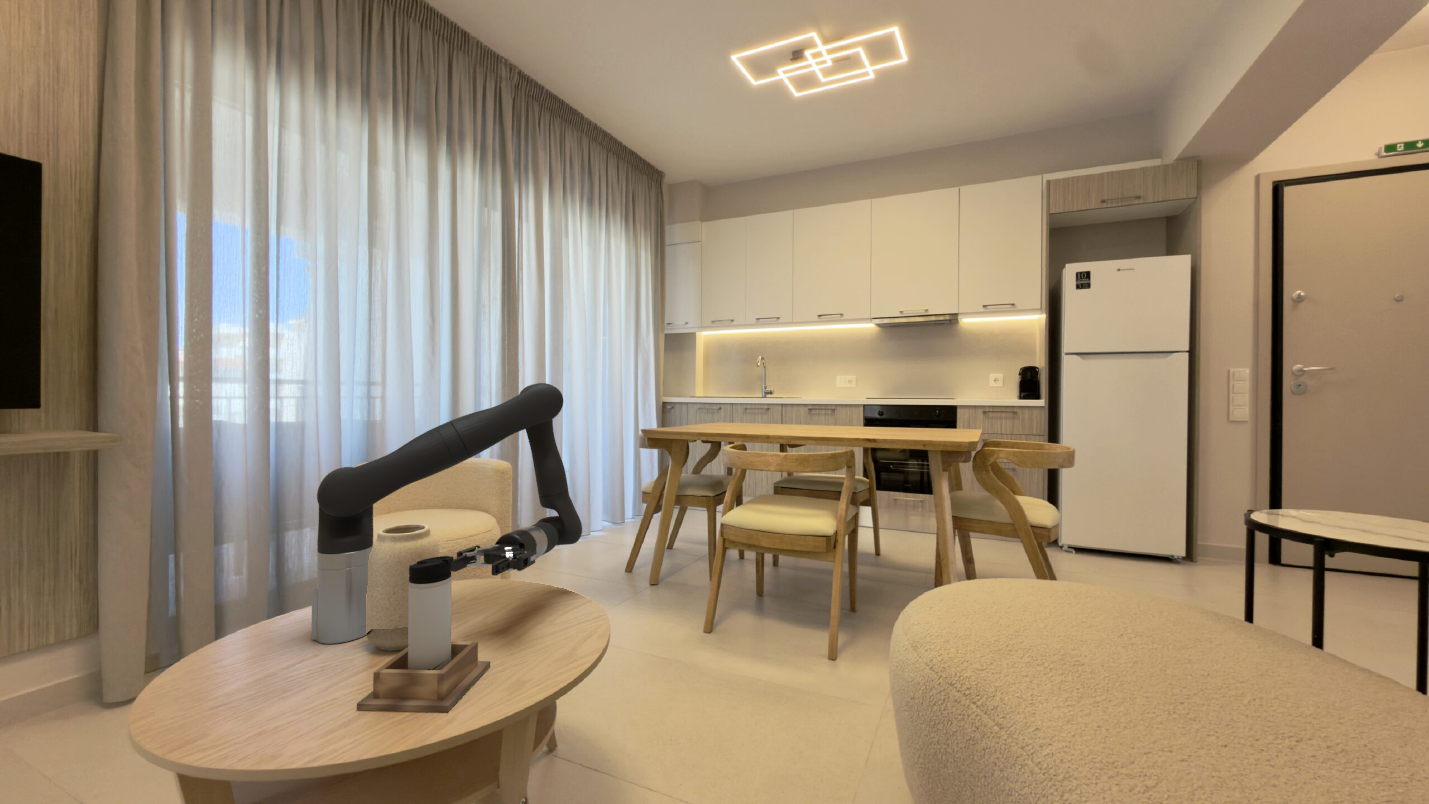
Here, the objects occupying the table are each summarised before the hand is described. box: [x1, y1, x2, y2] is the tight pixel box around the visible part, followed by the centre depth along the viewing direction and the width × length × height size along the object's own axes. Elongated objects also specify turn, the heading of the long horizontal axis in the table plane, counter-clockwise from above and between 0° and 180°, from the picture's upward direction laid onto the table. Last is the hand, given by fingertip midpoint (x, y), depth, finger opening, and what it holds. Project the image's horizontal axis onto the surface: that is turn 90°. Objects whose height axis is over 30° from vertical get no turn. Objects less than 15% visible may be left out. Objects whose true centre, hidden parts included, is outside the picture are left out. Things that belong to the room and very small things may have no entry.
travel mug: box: [407, 555, 454, 670], centre depth 88 cm, size 6×7×20 cm
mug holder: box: [356, 641, 491, 713], centre depth 88 cm, size 14×14×5 cm
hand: (472, 568), depth 99 cm, fingers open, 8 cm apart
